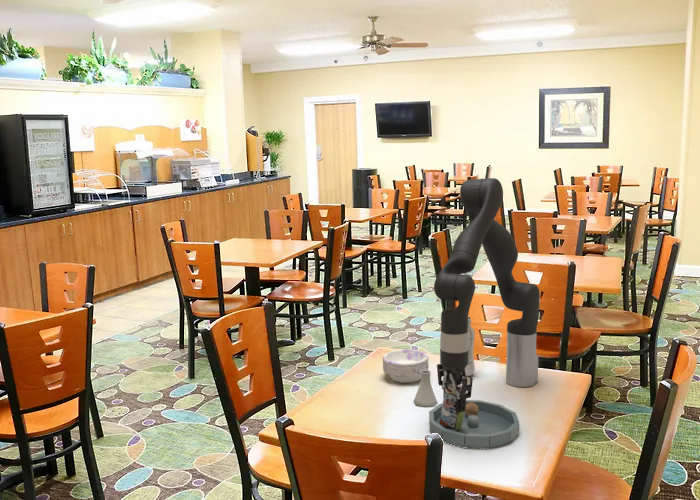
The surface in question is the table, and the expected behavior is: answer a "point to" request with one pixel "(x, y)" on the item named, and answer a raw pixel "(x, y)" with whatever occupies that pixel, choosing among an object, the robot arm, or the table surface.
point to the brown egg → (471, 409)
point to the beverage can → (451, 410)
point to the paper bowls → (405, 365)
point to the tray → (479, 426)
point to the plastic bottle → (470, 350)
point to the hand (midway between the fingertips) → (454, 406)
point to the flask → (425, 391)
